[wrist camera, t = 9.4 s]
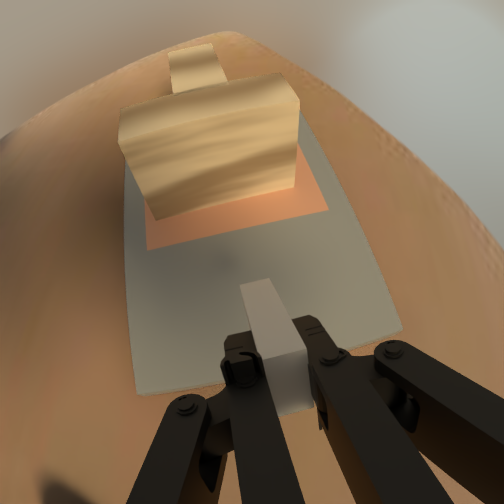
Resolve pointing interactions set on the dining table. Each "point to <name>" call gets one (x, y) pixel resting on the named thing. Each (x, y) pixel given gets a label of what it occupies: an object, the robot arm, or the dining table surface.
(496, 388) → the dining table surface
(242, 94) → the t block
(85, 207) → the dining table surface
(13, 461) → the dining table surface
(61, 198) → the dining table surface
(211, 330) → the board
